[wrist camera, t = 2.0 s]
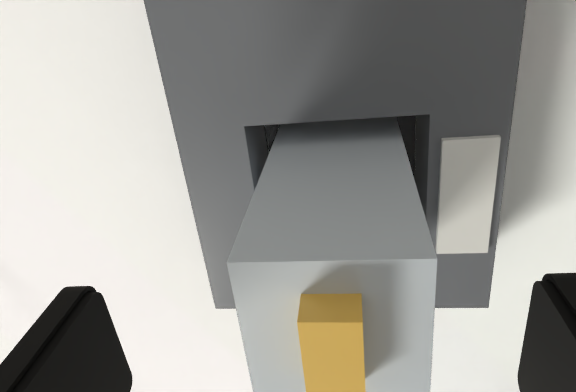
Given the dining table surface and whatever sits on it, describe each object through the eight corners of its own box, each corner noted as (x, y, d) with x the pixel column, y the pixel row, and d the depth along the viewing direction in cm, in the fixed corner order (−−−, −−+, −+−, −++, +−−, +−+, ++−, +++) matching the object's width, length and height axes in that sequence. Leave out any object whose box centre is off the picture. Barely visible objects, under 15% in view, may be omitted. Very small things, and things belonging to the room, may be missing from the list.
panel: (541, -526, 10) (621, -723, 7) (468, 257, 19) (489, 311, 16) (99, -410, 11) (14, -533, 8) (232, 262, 20) (214, 312, 17)
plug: (394, 109, 16) (445, 286, 8) (393, 206, 18) (435, 438, 10) (283, 116, 17) (216, 289, 8) (294, 210, 19) (248, 430, 10)
